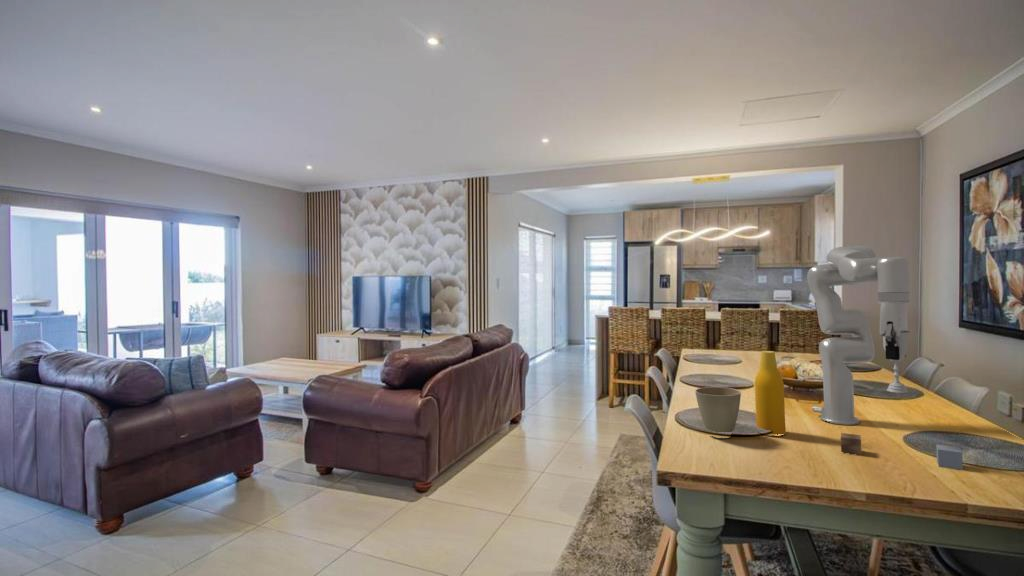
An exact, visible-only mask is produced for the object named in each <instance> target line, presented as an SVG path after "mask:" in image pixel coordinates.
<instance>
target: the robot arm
mask: <svg viewBox="0 0 1024 576" xmlns="http://www.w3.org/2000/svg"><path fill="white" fill-rule="evenodd" d="M826 262H827V264H825V263H824V264H823V263H822V264H818V265H814V266H812V267H810V268H809V270H808V271H807V276H806V277H807V278H806V281H807V285H808V288H809V291H810V294H812V297H813V300H814V302H815V307H816V313H817V319H818V325H819V328H820V331H821V332H822V333H823V334H826V335H833V336H834V335H852V337H843V336H842V337H841V336H839V337H838V336H837V337H828V338H825V339H822V340H821V341H819V344H818V352H819V356H820V362H821V366H822V367H821V368H822V379H823V380H822V382H823V383H822V385H823V406H816V405H813V406H812V411H813V412H814V413H820V415H819V419H820V418H821V419H822V420H824V421H823V422H825V421H827V422H826V423H828V422H830V424H833V423H834V425H842V426H851V425H852V426H855V425H858V424H860V422H861V420H860V418H858V417H857V416H855V395H854V375H853V373H852V371H851V370H850V369H849V367H847V365H846V364H847V363H848V364H850V363H852V364H853V363H854V364H859V363H864V364H865V363H870V362H872V361H874V359H875V355H876V353H875V352H876V351H875V344H874V339H873V334H872V330H871V324H870V320H869V318H868V316H867V314H866V313H865V312H864V311H863V310H861V309H845V308H844V307H843V302H842V299H841V297H840V295H839V294H838V293H837V292H836V291H835V290H834V289H833V288H831V287H832V286H833V287H834V286H835V287H836V286H837V287H839V286H855V285H858V284H860V283H874V282H876V283H877V296H878V297H877V299H878V300H877V301H878V302H877V303H878V304H880V307H879V308H880V310H879V335H880V336H882V337H883V336H885V337H886V339H885V340H886V342H885V345H886V346H885V349H886V352H885V359H887V360H890V359H892V360H899V359H900V353H899V346H898V337H899V336H901V333H903V332H906V331H908V325H909V324H908V322H909V321H908V307H907V304H911V292H910V291H911V286H910V282H911V281H910V262H909V259H908V258H907V257H905V256H895V257H876V252H875V251H874V249H873V248H871V247H870V246H868V245H853V246H848V245H847V246H839V247H835V248H832V249H831V250H829V252H828V253H827V255H826ZM885 332H886V333H885ZM892 332H896V335H892ZM884 334H885V335H884ZM894 338H895V341H894ZM885 349H884V350H885ZM906 357H907V354H906V355H905V357H904V358H906ZM821 419H820V420H821ZM822 420H821V421H822Z"/></svg>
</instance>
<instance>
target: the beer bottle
mask: <svg viewBox="0 0 1024 576" xmlns="http://www.w3.org/2000/svg"><path fill="white" fill-rule="evenodd" d="M754 379H755V380H754V394H755V395H754V399H755V400H754V401H755V427H756V426H757V427H759V428H762V429H765V430H770V431H773V433H772V434H777V435H778V434H784V433H785V434H786V430H787V429H786V410H785V385H784V380H783V377H782V375H781V373H780V372H779V369H778V366H777V360H776V353H775V351H771V350H762V351H761V353H760V365H759V369H758V372H757V373H756V375H755V378H754Z"/></svg>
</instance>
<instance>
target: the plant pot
mask: <svg viewBox="0 0 1024 576" xmlns="http://www.w3.org/2000/svg"><path fill="white" fill-rule="evenodd" d="M694 392H695V397H696V401H697V406H698V409H699V413H700V416H701V420H702V422H703V425H704V428H705V430H706V429H708V430H711V431H715V432H732V431H733V432H734V429H736V428H735V427H736V423H737V420H738V415H739V411H740V403H741V397H742V391H740V390H739V389H735V388H732V387H731V388H730V387H724V386H723V387H722V386H721V387H720V386H708V387H707V386H706V387H699V388H696V389H695V390H694Z"/></svg>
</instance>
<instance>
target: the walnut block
mask: <svg viewBox="0 0 1024 576" xmlns="http://www.w3.org/2000/svg"><path fill="white" fill-rule="evenodd" d="M840 448H841V451H840V452H843V453H842V454H846V453H849V454H848V455H853V454H856V455H855V456H860V455H861V456H862V437H861V435H860V434H854V433H845V432H841V433H840Z"/></svg>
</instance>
